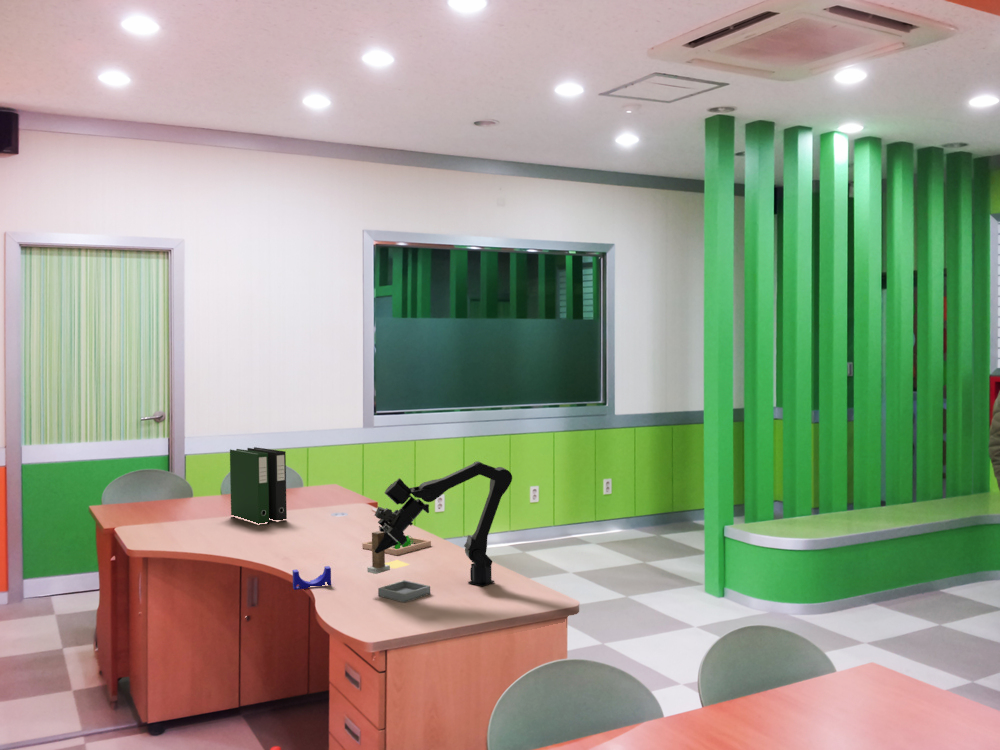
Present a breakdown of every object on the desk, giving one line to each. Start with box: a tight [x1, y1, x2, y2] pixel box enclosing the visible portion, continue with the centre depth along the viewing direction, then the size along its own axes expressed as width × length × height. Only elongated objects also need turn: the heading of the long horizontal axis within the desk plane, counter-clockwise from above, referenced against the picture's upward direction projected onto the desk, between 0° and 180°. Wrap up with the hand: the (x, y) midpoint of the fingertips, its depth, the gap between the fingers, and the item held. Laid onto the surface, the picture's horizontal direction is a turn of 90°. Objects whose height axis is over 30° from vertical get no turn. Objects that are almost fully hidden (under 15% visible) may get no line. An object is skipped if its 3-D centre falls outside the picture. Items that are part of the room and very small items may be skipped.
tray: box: [377, 579, 431, 603], centre depth 270 cm, size 12×12×2 cm
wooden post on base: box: [367, 530, 391, 575], centre depth 273 cm, size 6×4×12 cm, turn 141°
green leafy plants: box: [394, 534, 413, 549], centre depth 336 cm, size 15×15×7 cm
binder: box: [229, 446, 288, 524], centre depth 394 cm, size 27×15×32 cm, turn 45°
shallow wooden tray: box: [361, 536, 432, 556], centre depth 335 cm, size 19×19×2 cm
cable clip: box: [292, 565, 332, 591], centre depth 281 cm, size 12×4×6 cm, turn 113°
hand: (374, 551), depth 273 cm, fingers closed on wooden post on base, 4 cm apart
